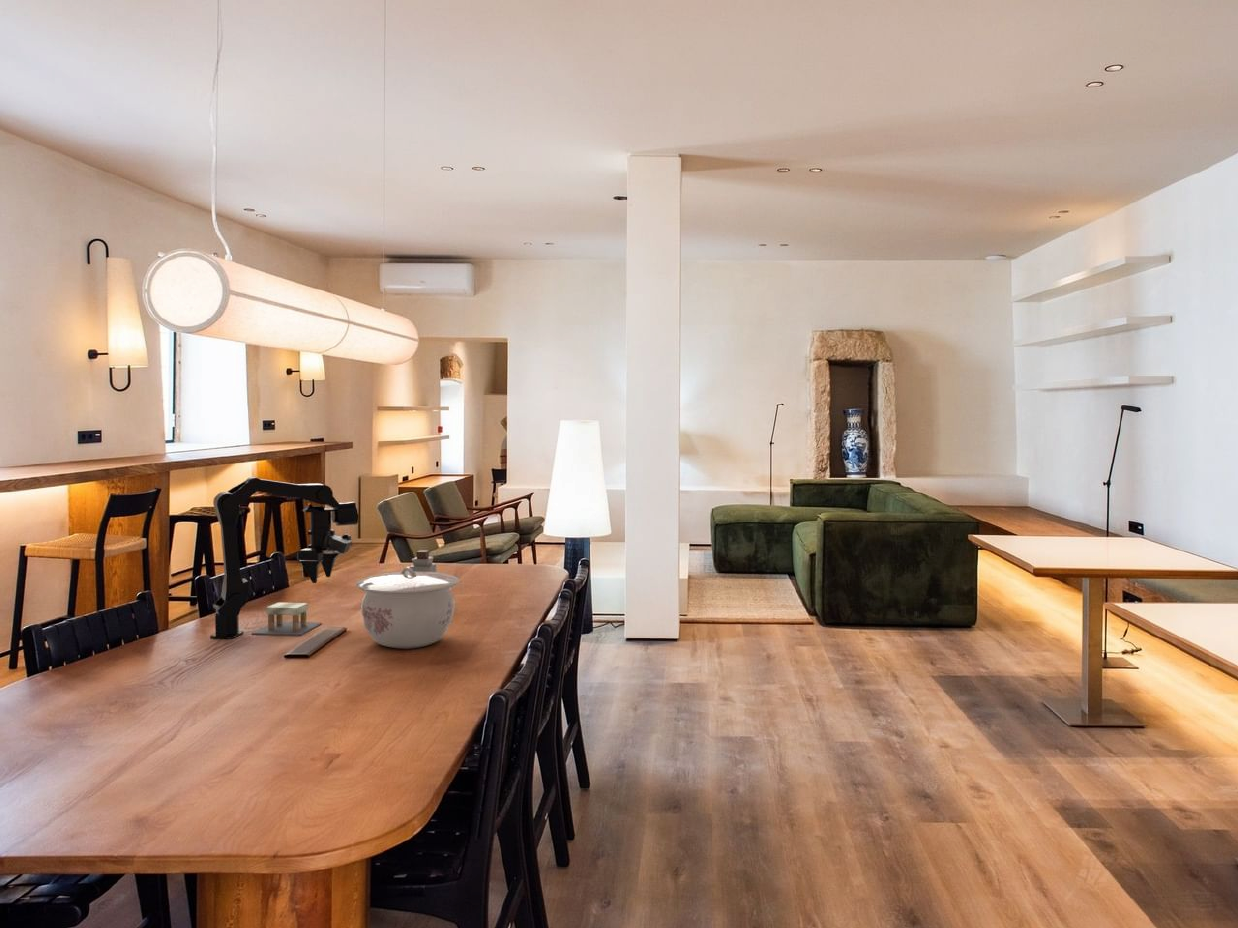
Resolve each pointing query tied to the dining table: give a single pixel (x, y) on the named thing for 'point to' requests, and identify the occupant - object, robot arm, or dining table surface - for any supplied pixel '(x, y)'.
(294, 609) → the stool
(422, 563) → the perfume bottle
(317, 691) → the dining table surface
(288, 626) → the felt pad
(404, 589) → the chamber pot
